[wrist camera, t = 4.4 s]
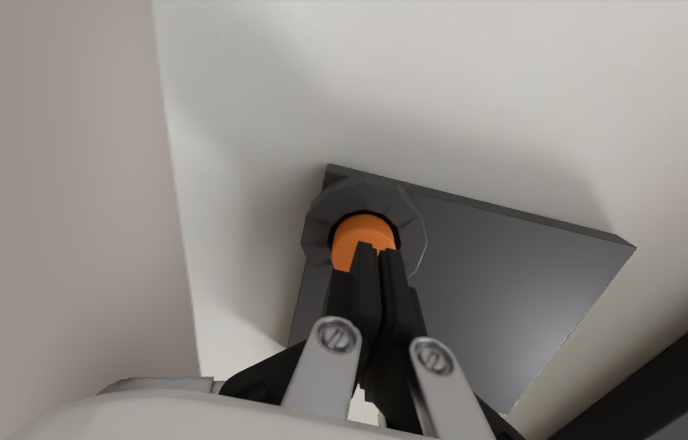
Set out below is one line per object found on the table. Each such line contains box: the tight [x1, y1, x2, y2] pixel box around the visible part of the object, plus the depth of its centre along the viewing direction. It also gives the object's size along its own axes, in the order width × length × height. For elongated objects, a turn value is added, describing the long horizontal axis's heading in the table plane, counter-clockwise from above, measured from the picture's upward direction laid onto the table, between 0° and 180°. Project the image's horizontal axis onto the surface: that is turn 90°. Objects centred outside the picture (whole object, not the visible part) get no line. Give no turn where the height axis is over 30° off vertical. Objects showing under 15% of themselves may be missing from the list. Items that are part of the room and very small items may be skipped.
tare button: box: [331, 214, 396, 272], centre depth 13 cm, size 3×3×2 cm
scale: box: [287, 164, 637, 414], centre depth 17 cm, size 16×14×3 cm
